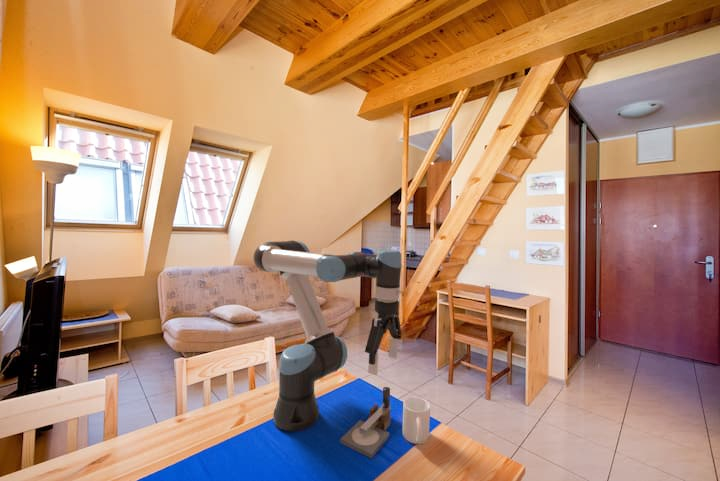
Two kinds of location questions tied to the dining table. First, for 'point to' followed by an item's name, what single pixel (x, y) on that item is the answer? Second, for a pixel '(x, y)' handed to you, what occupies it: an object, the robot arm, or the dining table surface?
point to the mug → (416, 420)
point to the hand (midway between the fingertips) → (383, 365)
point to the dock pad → (365, 439)
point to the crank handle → (377, 414)
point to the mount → (385, 418)
